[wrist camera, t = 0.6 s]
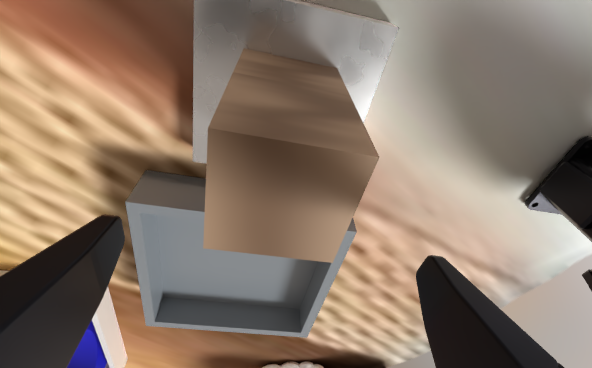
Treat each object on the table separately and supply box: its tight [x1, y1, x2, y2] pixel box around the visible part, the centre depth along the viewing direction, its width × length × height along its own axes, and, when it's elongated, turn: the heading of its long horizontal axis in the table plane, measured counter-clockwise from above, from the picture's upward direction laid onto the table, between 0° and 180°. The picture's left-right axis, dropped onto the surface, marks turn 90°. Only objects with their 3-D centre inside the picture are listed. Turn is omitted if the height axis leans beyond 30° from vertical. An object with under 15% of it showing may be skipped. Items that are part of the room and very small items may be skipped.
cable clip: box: [67, 320, 107, 368], centre depth 31 cm, size 12×4×6 cm, turn 173°
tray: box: [125, 170, 357, 337], centre depth 26 cm, size 15×15×4 cm
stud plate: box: [193, 0, 399, 164], centre depth 16 cm, size 10×10×5 cm
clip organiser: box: [0, 270, 128, 368], centre depth 32 cm, size 9×17×2 cm, turn 168°
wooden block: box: [203, 48, 379, 263], centre depth 14 cm, size 5×5×9 cm
